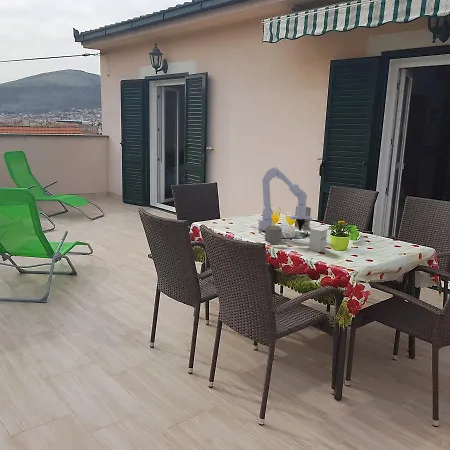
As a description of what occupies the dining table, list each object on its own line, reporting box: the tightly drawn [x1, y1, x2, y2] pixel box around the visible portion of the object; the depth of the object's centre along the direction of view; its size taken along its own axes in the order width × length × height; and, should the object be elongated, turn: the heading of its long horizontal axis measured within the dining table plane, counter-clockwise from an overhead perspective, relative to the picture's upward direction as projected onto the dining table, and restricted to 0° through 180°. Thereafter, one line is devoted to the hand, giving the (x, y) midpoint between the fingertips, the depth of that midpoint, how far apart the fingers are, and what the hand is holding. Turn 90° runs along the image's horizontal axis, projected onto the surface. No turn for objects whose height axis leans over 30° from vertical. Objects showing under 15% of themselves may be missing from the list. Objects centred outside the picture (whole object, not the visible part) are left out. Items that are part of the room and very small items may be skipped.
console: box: [281, 230, 304, 240], centre depth 303 cm, size 15×20×2 cm
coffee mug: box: [264, 224, 283, 246], centre depth 286 cm, size 13×10×10 cm
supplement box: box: [308, 227, 328, 253], centre depth 273 cm, size 7×7×13 cm
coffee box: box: [294, 206, 312, 230], centre depth 325 cm, size 9×6×16 cm
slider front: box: [290, 229, 296, 237], centre depth 296 cm, size 3×3×4 cm
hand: (299, 230), depth 310 cm, fingers closed
